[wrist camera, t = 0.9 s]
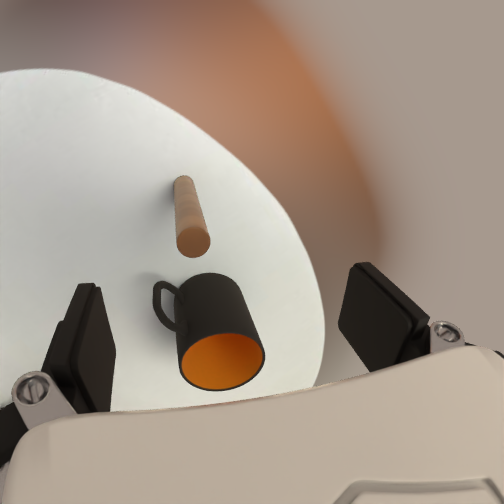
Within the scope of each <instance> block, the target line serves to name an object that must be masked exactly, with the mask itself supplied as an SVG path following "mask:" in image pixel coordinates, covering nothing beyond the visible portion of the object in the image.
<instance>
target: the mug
mask: <svg viewBox="0 0 504 504" xmlns="http://www.w3.org/2000/svg"><path fill="white" fill-rule="evenodd" d="M163 288H165V289H167V290H169V291H170V292H172V293H173V294H174V295H175V299H174V315H175V323H173V322H172V321H171V320H169V319H168V317H167V316H166V315H165V313H164V312H163V310H162V307H161V289H163ZM153 308H154V311H155V313H156V315H157V317H158V319H159V320H160V321H161V323H162V324H163V325H164V326H166V327H167V328H168V329H170V330H172V331H175V332H176V342H177V353H178V363H179V369H180V373H181V375H182V377H183V378H184V379H185V380H186V381H187V382H188V383H189V384H190V385H192V386H194V387H196V388H199V389H202V390H206V391H226V390H231V389H234V388H237V387H240V386H242V385H244V384H246V383H248V382H249V381H251V380H252V379H253V378H254V377H255V376H256V375H257V374H258V373H259V372H260V370H261V369H262V367H263V365H264V361H265V351H264V348H263V345H262V343H261V340H260V338H259V335H258V333H257V330H256V328H255V325H254V323H253V320H252V318H251V315H250V313H249V310H248V307H247V305H246V302H245V300H244V297H243V295H242V292H241V290H240V288H239V286H238V285H237V284H236V283H235V282H234V281H233V280H232V279H230V278H228V277H227V276H224V275H221V274H216V273H205V274H200V275H196V276H194V277H192V278H190V279H189V280H187V281H185V282H184V283H183V284H182V285H181V286H180V288H179V289H177V288H176V287H175V286H173V285H172V284H170V283H168V282H165V281H159V282H157V283H156V284H155V285H154V288H153Z"/></svg>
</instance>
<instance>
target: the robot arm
mask: <svg viewBox="0 0 504 504" xmlns="http://www.w3.org/2000/svg"><path fill="white" fill-rule="evenodd" d="M429 319H430V317H429V316H428V315H427V314H426V313H425V312H424V311H423V310H422V309H421V308H420V307H419V306H418V305H416V303H414V302H413V301H412V300H411V299H410V298H409V297H408V296H407V295H405V293H404V292H402V291H401V290H400V289H399V288H398V287H397V286H396V285H395V284H394V283H392V282H391V281H390V280H389V279H388V278H387V277H386V276H384V274H382V273H381V272H380V271H379V270H378V269H377V268H376V267H374V266H373V265H372V264H371V263H370V262H362V263H356V264H354V266H353V267H352V268H351V269H350V272H349V276H348V281H347V286H346V290H345V295H344V299H343V304H342V308H341V312H340V316H339V320H338V327H339V330H340V331H341V332H342V334H343V335H344V337H345V338H346V339H347V341H348V342H349V344H350V345H351V346H352V348H353V349H354V351H355V352H356V353H357V355H358V356H359V358H360V359H361V360H362V362H363V363H364V364H365V366H366V367H367V369H368V370H369V372H370V373H367V374H363V375H360V376H356V377H352V378H348V379H344V380H340V381H336V382H332V383H329V384H324V385H320V386H315V387H311V388H306V389H302V390H297V391H292V392H287V393H282V394H276V395H271V396H265V397H259V398H253V399H246V400H240V401H233V402H226V403H218V404H210V405H201V406H191V407H179V408H167V409H153V410H135V411H116V412H110V406H111V394H112V384H113V375H114V366H115V358H116V348H115V343H114V340H113V336H112V332H111V329H110V325H109V321H108V317H107V313H106V309H105V305H104V301H103V296H102V292H101V288H100V287H96V286H95V284H94V283H81V284H78V286H77V288H76V290H75V293H74V295H73V298H72V300H71V302H70V305H69V307H68V310H67V312H66V315H65V318H64V320H63V321H60V322H59V323H58V325H57V327H56V330H55V333H54V335H53V338H52V341H51V343H50V346H49V349H48V352H47V354H46V357H45V360H44V363H43V366H42V369H41V372H39V371H34V372H29V373H26V374H24V375H22V376H21V377H20V378H18V380H17V381H16V382H15V383H14V385H13V388H12V398H13V401H14V402H12V403H11V404H9V405H8V406H6V407H5V408H3V409H2V410H0V504H504V355H503V354H502V353H500V352H498V351H493V350H491V349H489V348H486V347H481V346H476V345H473V344H469V343H466V342H465V341H464V335H463V333H462V331H461V330H460V329H459V328H458V327H457V326H455V325H454V324H451V323H449V322H446V321H436V322H433V323H432V324H431V326H430V327H429V326H428V325H427V323H428V321H429Z"/></svg>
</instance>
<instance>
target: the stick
mask: <svg viewBox="0 0 504 504" xmlns="http://www.w3.org/2000/svg"><path fill="white" fill-rule="evenodd" d="M174 204H175V225H176V242H177V248H178V250H179V251H180V253H181V254H183V255H184V256H186V257H190V258H196V257H200V256H202V255H203V254H205V253H206V252H207V250H208V249H209V246H210V236H209V233H208V230H207V227H206V223H205V220H204V217H203V213H202V210H201V207H200V203H199V200H198V196H197V193H196V189H195V186H194V183H193V180H192V179H191V178H190V177H188V176H180V177H178V178H177V179H176V180H175V182H174Z"/></svg>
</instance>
